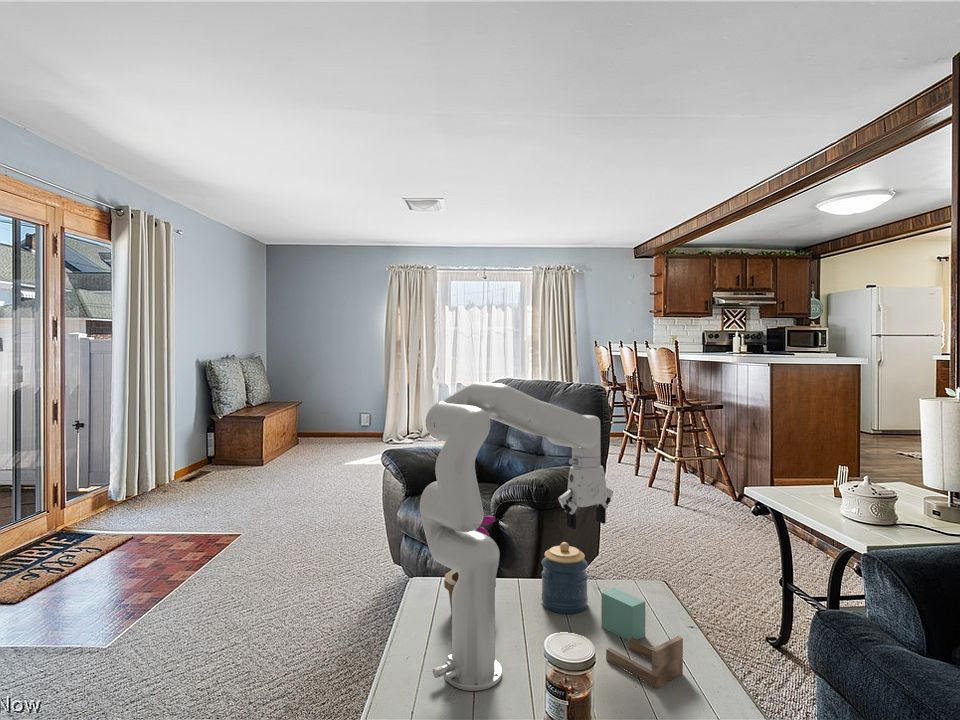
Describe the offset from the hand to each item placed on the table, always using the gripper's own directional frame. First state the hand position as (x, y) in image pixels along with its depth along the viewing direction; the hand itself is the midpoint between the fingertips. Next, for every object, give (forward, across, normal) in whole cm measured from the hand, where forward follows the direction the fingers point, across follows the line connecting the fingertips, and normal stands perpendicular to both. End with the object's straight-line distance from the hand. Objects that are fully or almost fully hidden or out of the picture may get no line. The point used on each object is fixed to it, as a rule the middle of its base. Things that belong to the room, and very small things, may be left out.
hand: (586, 525), depth 150 cm
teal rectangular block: (+25, +4, -10) cm, 27 cm away
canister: (+25, -1, +9) cm, 27 cm away
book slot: (+25, -3, -25) cm, 35 cm away
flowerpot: (+25, -27, +16) cm, 40 cm away
